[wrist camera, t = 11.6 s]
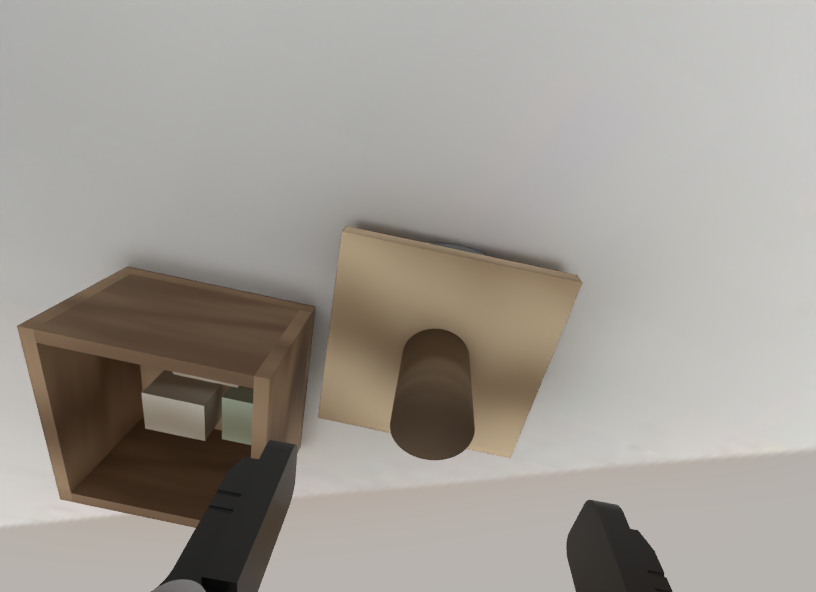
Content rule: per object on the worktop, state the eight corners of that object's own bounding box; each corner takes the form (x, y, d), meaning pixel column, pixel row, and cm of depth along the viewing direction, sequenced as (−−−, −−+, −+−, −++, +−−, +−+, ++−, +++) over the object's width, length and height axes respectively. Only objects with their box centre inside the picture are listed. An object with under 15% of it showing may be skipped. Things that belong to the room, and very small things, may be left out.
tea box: (126, 266, 21) (16, 325, 16) (315, 306, 21) (269, 379, 16) (142, 413, 26) (60, 499, 20) (300, 446, 26) (260, 541, 20)
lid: (351, 219, 19) (308, 274, 13) (570, 266, 19) (624, 342, 13) (327, 394, 23) (287, 493, 17) (505, 432, 23) (524, 543, 17)
